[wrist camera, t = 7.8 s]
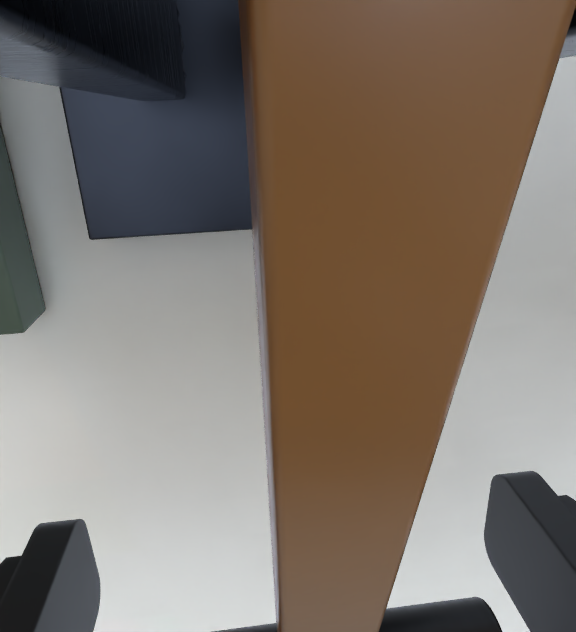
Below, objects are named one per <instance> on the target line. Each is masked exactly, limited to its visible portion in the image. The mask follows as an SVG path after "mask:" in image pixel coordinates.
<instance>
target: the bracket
mask: <svg viewBox="0 0 576 632" xmlns="http://www.w3.org/2000/svg"><path fill="white" fill-rule="evenodd" d="M575 55H576V6H575V10H574V13H573V16H572V19H571V22H570V26H569V29H568V32H567V35H566V38H565V41H564V45H563V48H562V51H561V54H560V57H559V58H563V57H569V56H575ZM0 76H1V77H7V78H13V79H18V80H24V81H30V82H36V83H41V84H47V85H53V86H59V88H60V93H61V98H62V103H63V108H64V113H65V118H66V123H67V128H68V133H69V138H70V143H71V148H72V153H73V159H74V164H75V169H76V174H77V179H78V184H79V189H80V194H81V199H82V204H83V209H84V214H85V219H86V224H87V230H88V235H89V238H90V239H91V240H95V239H111V238H126V237H142V236H157V235H172V234H188V233H203V232H219V231H234V230H249V229H252V216H251V200H250V183H249V167H248V151H247V135H246V118H245V102H244V86H243V69H242V53H241V37H240V21H239V4H238V0H0Z"/></svg>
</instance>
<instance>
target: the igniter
mask: <svg viewBox="0 0 576 632" xmlns="http://www.w3.org/2000/svg"><path fill="white" fill-rule="evenodd" d="M44 311H45V306H44V302H43V297H42V293H41V289H40V285H39V281H38V277H37V273H36V269H35V265H34V261H33V257H32V252H31V248H30V244H29V240H28V236H27V232H26V228H25V224H24V220H23V216H22V212H21V207H20V203H19V199H18V195H17V191H16V187H15V183H14V179H13V175H12V171H11V167H10V163H9V158H8V154H7V150H6V146H5V142H4V138H3V134H2V130H1V126H0V335H1V334H14V333H23V332H25V331H26V330H27V329H28V328H29V327H30V326H31V325H32V324H33V322H34V321H35V320H36V319H37V318H38V317H39V316H40V315H41V314H42V313H43V312H44Z"/></svg>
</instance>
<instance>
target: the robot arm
mask: <svg viewBox="0 0 576 632" xmlns="http://www.w3.org/2000/svg"><path fill="white" fill-rule="evenodd" d="M484 540H485V546H486V551H487V554H488V557H489V560H490V562H491V564H492V566H493V568H494V570H495V571H496V573H497V575H498V577H499V578H500V580H501V582H502V583H503V585H504V587H505V589H506V590H507V592H508V594H509V595H510V597H511V599H512V601H513V602H514V604H515V606H516V608H517V609H518V611H519V613H520V614H521V616H522V618H523V620H524V621H525V623H526V625H527V626H528V628H529V630H530V632H576V501H575V500H574V499H572V498H570V497H569V496H567V495H563V496H557V494H556V493H555V492H554V491H553V490H552V489H551V487H550V486H549V485H548V484H547V483H546V482H545V480H544V479H543V478H542V477H541V476H540V475H539V474H538V473H536V472H534V471H527V472H518V473H509V474H499V475H495V476H494V477H493V479H492V482H491V487H490V494H489V501H488V508H487V516H486V523H485V530H484ZM99 604H100V578H99V573H98V569H97V566H96V562H95V558H94V554H93V550H92V546H91V542H90V538H89V534H88V530H87V527H86V524H85V522H84V521H83V520H82V519H76V520H67V521H58V522H49V523H41V524H39V525H38V526H37V527H36V528H35V529H34V531H33V533H32V535H31V537H30V539H29V542H28V544H27V546H26V548H25V550H24V552H23V554H22V556H17V557H8V558H5V560H4V561H3V562H2V563H1V564H0V632H93V630H94V626H95V622H96V619H97V615H98V610H99Z"/></svg>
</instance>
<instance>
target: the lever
mask: <svg viewBox="0 0 576 632" xmlns="http://www.w3.org/2000/svg"><path fill="white" fill-rule="evenodd" d="M238 4H239V21H240V37H241V53H242V69H243V86H244V102H245V118H246V135H247V151H248V167H249V183H250V200H251V216H252V232H253V249H254V265H255V281H256V297H257V314H258V330H259V346H260V363H261V379H262V395H263V411H264V428H265V444H266V460H267V477H268V493H269V509H270V525H271V542H272V558H273V574H274V591H275V607H276V623H274V624H266V625H259V626H251V627H244V628H236V629H228V630H221V631H213V632H502V630H501V627H500V625H499V623H498V621H497V619H496V617H495V615H494V613H493V611H492V610H491V608H490V607H489V605H488V604H487V603H486V602H485V601H484V600H483V599H481V598H478V597H472V598H464V599H457V600H449V601H441V602H434V603H426V604H419V605H411V606H403V607H396V608H388V609H386V607H387V604H388V601H389V597H390V594H391V591H392V588H393V585H394V582H395V578H396V575H397V572H398V569H399V566H400V563H401V559H402V556H403V553H404V550H405V547H406V543H407V540H408V537H409V534H410V531H411V528H412V524H413V521H414V518H415V515H416V512H417V508H418V505H419V502H420V499H421V496H422V493H423V489H424V486H425V483H426V480H427V477H428V474H429V470H430V467H431V464H432V461H433V458H434V454H435V451H436V448H437V445H438V442H439V439H440V435H441V432H442V429H443V426H444V423H445V420H446V416H447V413H448V410H449V407H450V404H451V400H452V397H453V394H454V391H455V388H456V385H457V381H458V378H459V375H460V372H461V369H462V366H463V362H464V359H465V356H466V353H467V350H468V346H469V343H470V340H471V337H472V334H473V331H474V327H475V324H476V321H477V318H478V315H479V312H480V308H481V305H482V302H483V299H484V296H485V292H486V289H487V286H488V283H489V280H490V277H491V273H492V270H493V267H494V264H495V261H496V257H497V254H498V251H499V248H500V245H501V242H502V238H503V235H504V232H505V229H506V226H507V223H508V219H509V216H510V213H511V210H512V207H513V203H514V200H515V197H516V194H517V191H518V188H519V184H520V181H521V178H522V175H523V172H524V169H525V165H526V162H527V159H528V156H529V153H530V149H531V146H532V143H533V140H534V137H535V134H536V130H537V127H538V124H539V121H540V118H541V115H542V111H543V108H544V105H545V102H546V99H547V95H548V92H549V89H550V86H551V83H552V80H553V76H554V73H555V70H556V67H557V64H558V60H559V57H560V54H561V51H562V48H563V45H564V41H565V38H566V35H567V32H568V29H569V26H570V22H571V19H572V16H573V13H574V10H575V6H576V0H238Z"/></svg>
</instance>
